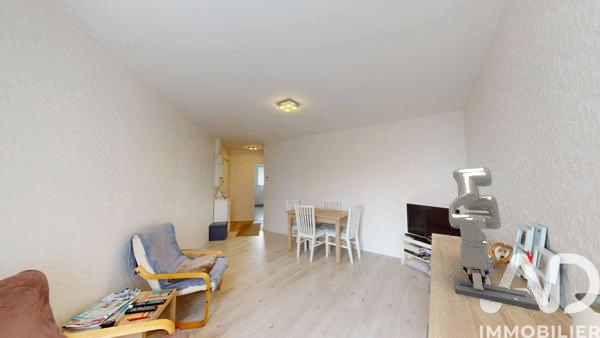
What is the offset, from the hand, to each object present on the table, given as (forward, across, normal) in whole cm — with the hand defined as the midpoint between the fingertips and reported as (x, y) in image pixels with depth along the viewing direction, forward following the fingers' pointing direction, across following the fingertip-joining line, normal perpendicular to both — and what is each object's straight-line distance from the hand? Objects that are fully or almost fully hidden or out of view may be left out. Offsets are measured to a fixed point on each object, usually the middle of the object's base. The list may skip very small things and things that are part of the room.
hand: (477, 283), depth 92 cm
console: (+4, -4, 0) cm, 6 cm away
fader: (+2, 0, 0) cm, 2 cm away
